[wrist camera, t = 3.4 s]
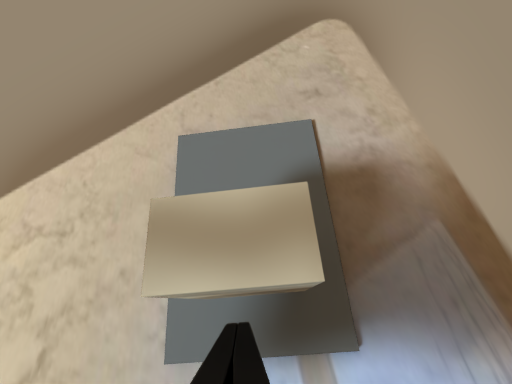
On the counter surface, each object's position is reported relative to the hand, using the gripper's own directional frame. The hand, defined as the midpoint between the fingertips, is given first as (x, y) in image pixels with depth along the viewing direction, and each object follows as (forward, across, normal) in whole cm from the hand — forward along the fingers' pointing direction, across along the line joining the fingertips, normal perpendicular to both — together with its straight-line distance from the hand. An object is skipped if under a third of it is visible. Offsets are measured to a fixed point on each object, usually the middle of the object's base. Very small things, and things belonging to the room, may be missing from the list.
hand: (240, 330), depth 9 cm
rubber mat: (+9, 0, +1) cm, 9 cm away
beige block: (+7, 0, +2) cm, 7 cm away
